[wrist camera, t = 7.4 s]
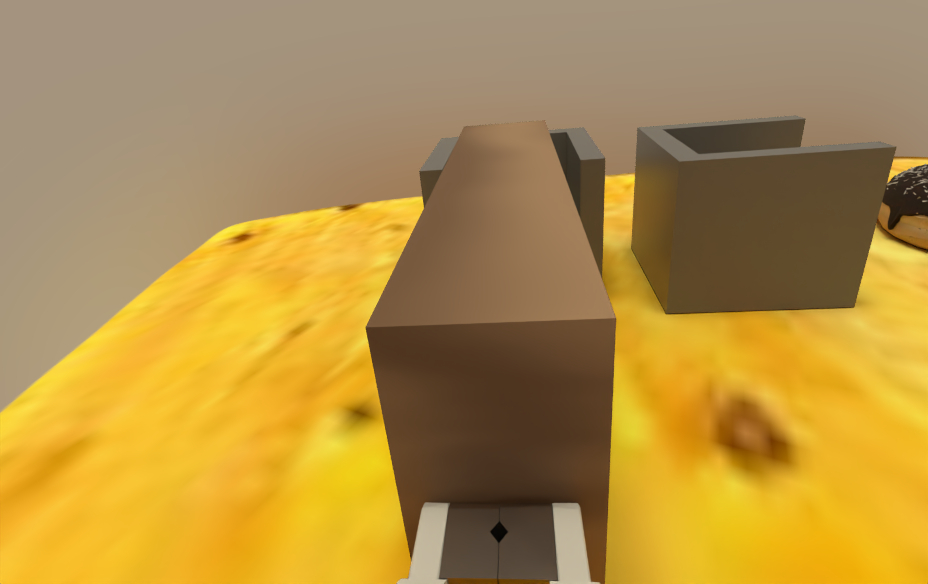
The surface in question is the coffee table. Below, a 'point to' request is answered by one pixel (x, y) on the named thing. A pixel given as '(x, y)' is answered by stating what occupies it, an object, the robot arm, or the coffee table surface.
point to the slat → (498, 341)
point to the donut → (907, 206)
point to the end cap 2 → (754, 215)
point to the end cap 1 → (579, 169)
